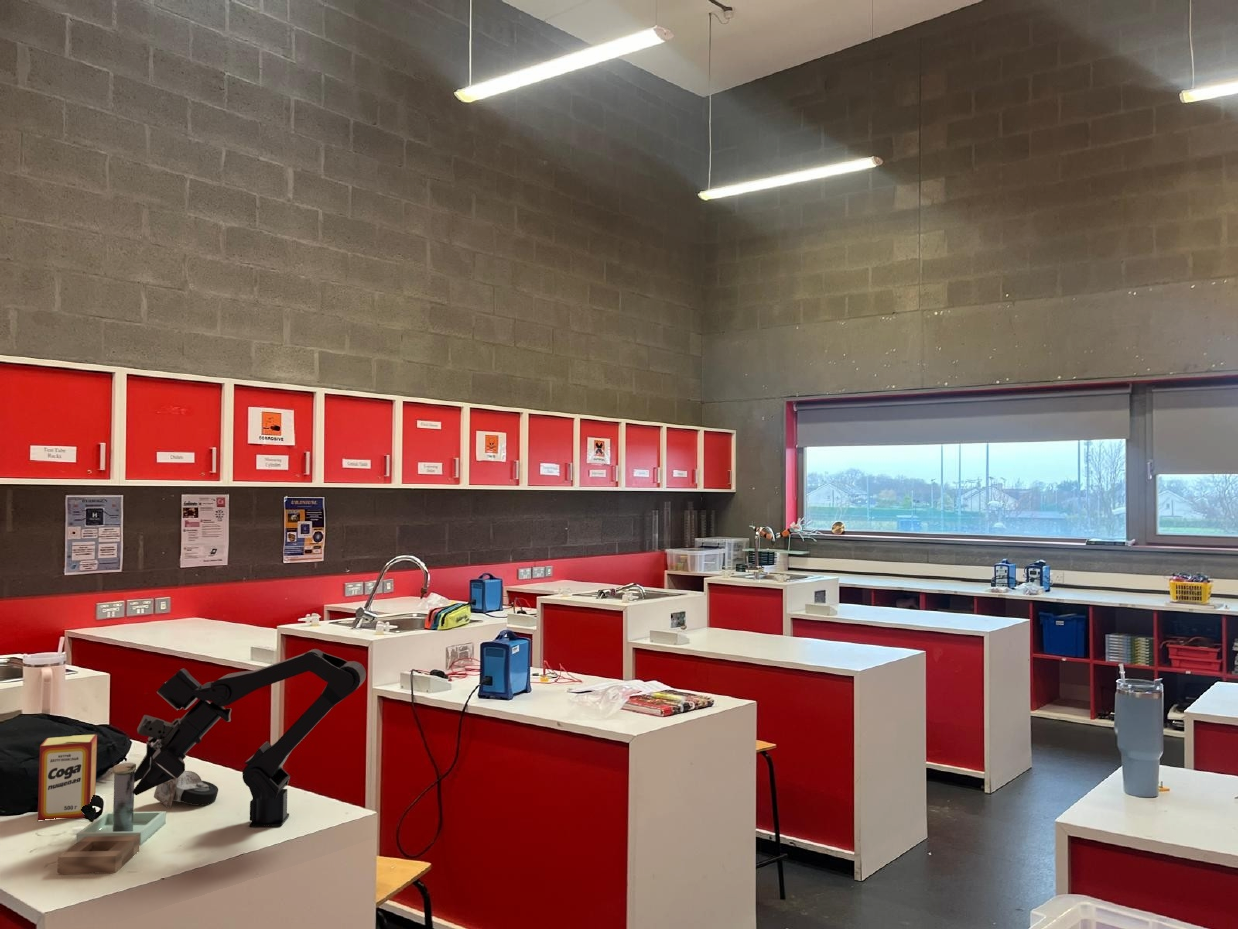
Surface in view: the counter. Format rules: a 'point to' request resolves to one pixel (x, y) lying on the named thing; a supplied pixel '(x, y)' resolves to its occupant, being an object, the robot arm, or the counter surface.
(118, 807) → the pin
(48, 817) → the baking soda box
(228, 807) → the counter surface
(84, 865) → the block
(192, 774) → the caster wheel
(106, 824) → the tray
